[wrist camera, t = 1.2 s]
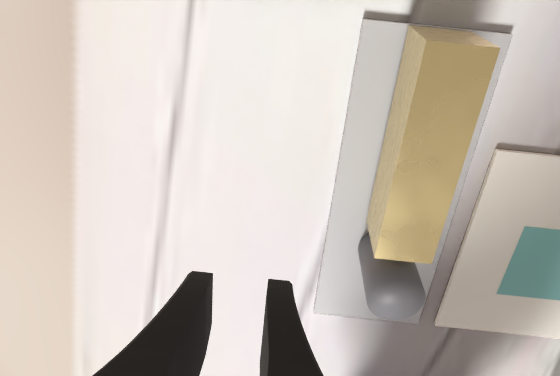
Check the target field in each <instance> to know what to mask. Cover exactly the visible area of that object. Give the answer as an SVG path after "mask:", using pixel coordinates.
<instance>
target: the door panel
mask: <svg viewBox="0 0 560 376" xmlns="http://www.w3.org/2000/svg"><path fill="white" fill-rule="evenodd" d="M409 25H410V26H420V27H430V28H440V29H449V30H459V31H469V32H473V33H475V34H477V35H479V36H480V37H482V38H484V39H486V40H487V41H489V42H491V43H493V44H495V45H496V46H498V47H500V51H499V55H498V58H497V61H496V64H495V67H494V70H493V73H492V77H491V80H490V83H489V86H488V89H487V92H486V95H485V99H484V102H483V105H482V108H481V111H480V114H479V117H478V120H477V124H476V127H475V130H474V133H473V136H472V139H471V142H470V146H469V149H468V152H467V155H466V158H465V161H464V164H463V167H462V171H461V174H460V177H459V180H458V183H457V186H456V189H455V193H454V196H453V199H452V202H451V205H450V208H449V211H448V215H447V218H446V221H445V224H444V227H443V230H442V233H441V236H440V240H439V243H438V246H437V249H436V252H435V255H434V258H433V262H432V264H425V263H416V262H406V261H396V260H387V259H377V258H374V254H373V250H372V245H371V240H370V235H369V231H368V226H367V221H366V220H367V215H368V211H369V206H370V201H371V197H372V192H373V188H374V183H375V178H376V174H377V169H378V165H379V160H380V155H381V151H382V146H383V142H384V137H385V132H386V128H387V123H388V118H389V114H390V109H391V105H392V100H393V95H394V91H395V86H396V82H397V77H398V72H399V68H400V63H401V59H402V54H403V49H404V45H405V40H406V36H407V31H408V26H409ZM511 38H512V34H510V33H500V32H490V31H480V30H471V29H461V28H451V27H441V26H432V25H422V24H412V23H402V22H393V21H383V20H373V19H363V20H362V26H361V32H360V38H359V44H358V50H357V56H356V62H355V68H354V74H353V80H352V86H351V91H350V97H349V103H348V109H347V115H346V121H345V127H344V133H343V139H342V145H341V151H340V157H339V162H338V168H337V174H336V180H335V186H334V192H333V198H332V204H331V210H330V216H329V222H328V228H327V233H326V239H325V245H324V251H323V257H322V263H321V269H320V275H319V281H318V287H317V293H316V299H315V304H314V314H324V315H334V316H343V317H353V318H363V319H372V320H382V321H392V322H401V323H411V324H418V323H419V320H420V316H421V313H422V310H423V307H424V304H425V301H426V298H427V295H428V292H429V289H430V286H431V283H432V280H433V277H434V274H435V271H436V268H437V265H438V261H439V258H440V255H441V252H442V249H443V246H444V243H445V240H446V237H447V234H448V231H449V228H450V225H451V222H452V219H453V216H454V213H455V209H456V206H457V203H458V200H459V197H460V194H461V191H462V188H463V185H464V182H465V179H466V176H467V173H468V170H469V167H470V164H471V161H472V158H473V154H474V151H475V148H476V145H477V142H478V139H479V136H480V133H481V130H482V127H483V124H484V121H485V118H486V115H487V112H488V109H489V106H490V102H491V99H492V96H493V93H494V90H495V87H496V84H497V81H498V78H499V75H500V72H501V69H502V66H503V63H504V60H505V57H506V54H507V50H508V47H509V44H510V41H511ZM434 323H435V326H440V327H450V328H460V329H469V330H479V331H489V332H498V333H508V334H518V335H527V336H537V337H547V338H556V339H560V155H552V154H542V153H532V152H523V151H513V150H503V149H495V151H494V154H493V157H492V160H491V162H490V165H489V168H488V171H487V174H486V177H485V180H484V182H483V185H482V188H481V191H480V194H479V197H478V199H477V202H476V205H475V208H474V211H473V214H472V217H471V219H470V222H469V225H468V228H467V231H466V234H465V237H464V239H463V242H462V245H461V248H460V251H459V254H458V257H457V259H456V262H455V265H454V268H453V271H452V274H451V277H450V279H449V282H448V285H447V288H446V291H445V294H444V297H443V299H442V302H441V305H440V308H439V311H438V314H437V316H436V319H435V322H434Z"/></svg>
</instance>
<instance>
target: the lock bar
mask: <svg viewBox="0 0 560 376" xmlns="http://www.w3.org/2000/svg"><path fill="white" fill-rule="evenodd" d="M499 51H500V47H498V46H496V45H495V44H493V43H491V42H489V41H487V40H486V39H484V38H482V37H480V36H479V35H477V34H475V33H473V32H469V31H459V30H449V29H440V28H430V27H420V26H410V25H409V26H408V31H407V36H406V40H405V45H404V49H403V54H402V59H401V63H400V68H399V72H398V77H397V82H396V86H395V91H394V95H393V100H392V105H391V109H390V114H389V118H388V123H387V128H386V132H385V137H384V142H383V146H382V151H381V155H380V160H379V165H378V169H377V174H376V178H375V183H374V188H373V192H372V197H371V201H370V206H369V211H368V215H367V220H366V221H367V226H368V231H369V235H370V240H371V245H372V250H373V254H374V258H377V259H387V260H396V261H406V262H416V263H425V264H432V262H433V258H434V255H435V252H436V249H437V246H438V243H439V240H440V236H441V233H442V230H443V227H444V224H445V221H446V218H447V215H448V211H449V208H450V205H451V202H452V199H453V196H454V193H455V189H456V186H457V183H458V180H459V177H460V174H461V171H462V167H463V164H464V161H465V158H466V155H467V152H468V149H469V146H470V142H471V139H472V136H473V133H474V130H475V127H476V124H477V120H478V117H479V114H480V111H481V108H482V105H483V102H484V99H485V95H486V92H487V89H488V86H489V83H490V80H491V77H492V73H493V70H494V67H495V64H496V61H497V58H498V55H499Z"/></svg>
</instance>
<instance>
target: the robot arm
mask: <svg viewBox="0 0 560 376" xmlns="http://www.w3.org/2000/svg"><path fill="white" fill-rule="evenodd" d="M212 287H213V273H206V272H196V271H192V272H190V273H189V274H188V275H187V277H186V278H185V280H184V281H183V283H182V284H181V285H180V287H179V288H178V289H177V291H176V292H175V293H174V294H173V296H172V297H171V298H170V299H169V301H168V302H167V303H166V304H165V305H164V307H163V308H162V309H161V310H160V311H159V312H158V314H157V315H156V316H155V317H154V318H153V319H152V320H151V322H150V323H149V324H148V325H147V326H146V327H145V328H144V329H143V330H142V331H141V332H140V333H139V334H138V335H137V336H136V337H135V338H134V339H133V340H132V341H131V342H130V343H129V344H128V345H127V346H126V347H125V348H124V349H123V350H122V351H121V352H120V353H119V354H117V355H116V356H115V357H114V358H113V359H112V360H111V361H110V362H108V363H107V364H106V365H105V366H104V367H103V368H101V369H100V370H99V371H98V372H96V373H95V374H94V375H93V376H199V375H200V371H201V368H202V365H203V362H204V358H205V355H206V350H207V345H208V340H209V335H210V330H211V325H212ZM260 376H323V374H322V372H321V370H320V368H319V366H318V363H317V361H316V359H315V357H314V354H313V352H312V350H311V348H310V345H309V343H308V340H307V337H306V335H305V332H304V329H303V327H302V324H301V321H300V318H299V314H298V311H297V307H296V304H295V299H294V294H293V288H292V284H291V283H290V282H289V281H283V280H274V279H268V287H267V296H266V306H265V316H264V326H263V337H262V347H261V357H260Z"/></svg>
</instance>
